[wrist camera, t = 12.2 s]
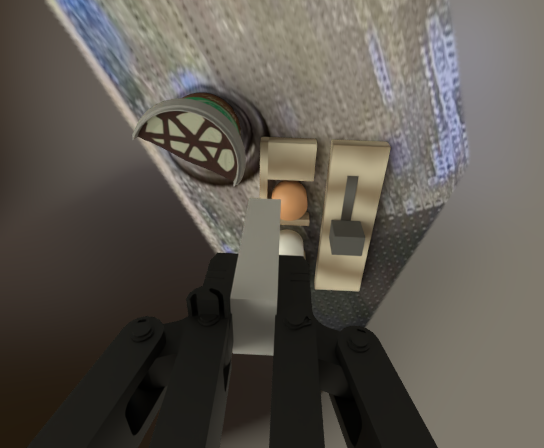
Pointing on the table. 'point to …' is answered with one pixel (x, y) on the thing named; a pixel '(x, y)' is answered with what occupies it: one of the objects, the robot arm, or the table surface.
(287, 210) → the brown egg
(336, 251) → the slider knob
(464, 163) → the table surface
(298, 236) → the white egg
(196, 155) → the food container
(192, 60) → the table surface
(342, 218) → the beige flat pieces
